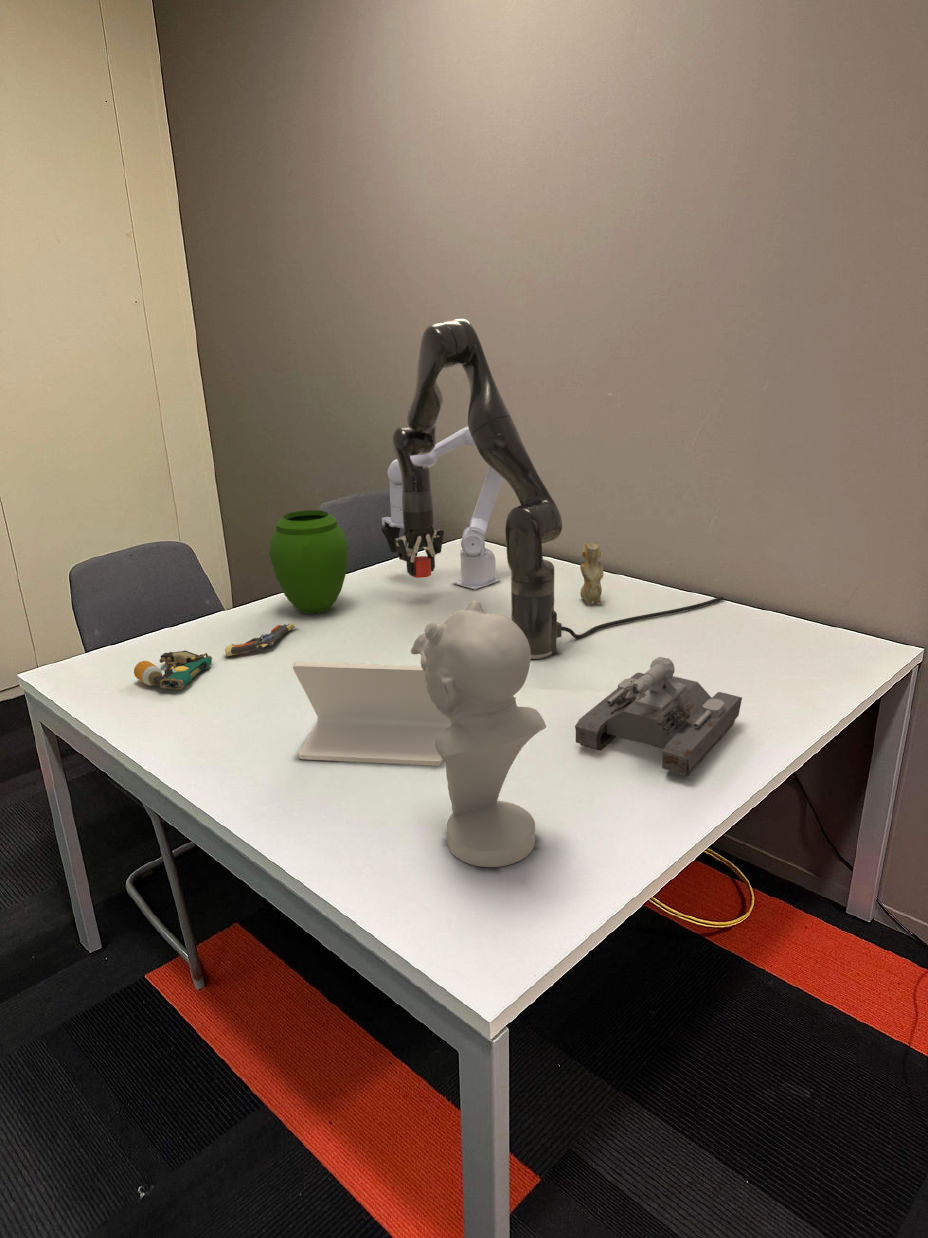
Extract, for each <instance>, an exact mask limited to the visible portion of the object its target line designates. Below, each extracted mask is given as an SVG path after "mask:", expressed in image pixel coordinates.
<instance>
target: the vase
mask: <svg viewBox="0 0 928 1238" xmlns="http://www.w3.org/2000/svg"><path fill="white" fill-rule="evenodd" d="M275 527H276V529H275V530H274V532H273V534H272V535H271V536H270V541H269V551H268V554H269V558H270V561H271V565H272V569H273V572H274V576H275V578H276V580H277V582H278V584H279V586H280V589H281V590H282V592H283V595H284V596H285V597H286V599H287V600H288V601H289V603H290V604H291V605H292V606H293V607H294V608H295V609H296V610H297V611H299V612H301V613H303V614H308V615H309V614H310V615H311V614H312V615H314V614H321V613H324V612H327V611H328V610H330V609H331V608H332V607H333V605H334V604H336V601H338V600H337V599H338V598H339V596H340V594H341V592H342V589H343V585H344V582H345V580H346V579H345V578H346V575H347V571H348V560H349V559H348V558H349V543H348V540H347V536H346V533H345V531H344V530H343V529H342V527H340V526H339V525H338V519H337V518H336V517H334V516H333V515H331V514H330V513H329V512H327V511H324V510H316V509H308V510H298V511H291V512H289V513H286V514H284V515H283V516H282V517H281V518H280V519H279V520H277V521H276V523H275Z"/></svg>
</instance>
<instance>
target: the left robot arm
mask: <svg viewBox="0 0 928 1238" xmlns="http://www.w3.org/2000/svg"><path fill="white" fill-rule="evenodd" d="M464 445H467V446H473V447H476V445H475V443H474V441H473V438H472V436H471V434H470V432H469V428H468V425H467V426H465V427H463V428H461V429H459V430H458V431H456V432H454V433H453V434H451V435H449V436H447V437H446V438H444V439H443V440H441V441H439V442H436V445H435V448H434V449H433V450H432V451H431V452H430V453H428V454H423V455H414V456H410V458H411V461H412V462H413V463H414V464H422V465H426V466H427V467H428V468H429V469H430V468H431V467H433V466H435V465H436V464H437V461H438V458H440V457H442V456H444V455H445V454H448V453H449V452H451V451H454V450H456V449H458V448H460V447H462V446H464ZM387 478H388V479H389V481H388V482H389V504H390V516H383V517H381V525H382V526H383V527H381V532H382V534H383V535H384V537H385V539H386V541H387V544H388V547H389V551H390V553H392V554H394V553H396V552H397V549H396V546H395V542H394V539H395V538H400V533H401V530H405V528H404V525H403V509H402V477H401V471H400V467H399V463H398V460H397V458H396V459H394V460H392V462H391V463H390V464H389V466H388V468H387ZM503 481H504V479H503V478H502V477H501V476H500V475H499V474H498V473H497V472H496V471H495V470H493V469H492V468H491V467H490V466H489V465H488V468H487V472H486V475H485V478H484V481H483V483H482V486H481V489H480V493H479V495H478V499H477V502H476V504H475V507H474V511H473V513H472V516H471V518H470V520H469V523H468V524H467V526H466V527H464V529H463V531H462V534H461V536H462V537H461V541H460V547H461V549H460V553H459V555H460V579H459V580H457V581H454V585H457V586H461V587H464V588H468V589H471V590H478V589H481V588H483V587H486V586H489V585H492V584H495V583H497V582H499V579H497V575H496V574H497V573H496V572H497V569H496V557H495V554H494V552H493V551H492V550H491V549H490V548H486V546H485V545H486V543H485V540H486V532H487V529H488V526H489V521H490V519H491V516H492V513H493V510H494V507H495V504H496V501H497V498H498V495H499V493H500V490H501V487H502V484H503ZM407 543H408V542H407V541H406V544H407ZM412 549H413V547H412ZM418 553H419V551H418V552H417V554H416V555H415V557H418Z"/></svg>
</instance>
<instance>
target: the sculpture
mask: <svg viewBox="0 0 928 1238" xmlns="http://www.w3.org/2000/svg"><path fill="white" fill-rule="evenodd" d="M582 545H583V551H582V552H581V557H582V558H583V559H584V560H585V562H584V563H581V564H580V566H579V569H580V573H581V575H582V577H583V582H584V583H583V585H582V587H581V588H580V592H579V594H580V598H581V599H582V600H583V601H585V603H586V605H593V603H594V605H598V604H601V601H602V600H601V599H602V594H603V588H602V584H601V580H602V579H603V578H604V564H603V563H601V562H599V559H600V558H601V557H602V551H601V550H600V549H601V546H600V545H599V544H598V543H597V542H592V543H587V542H584V543H583V544H582Z"/></svg>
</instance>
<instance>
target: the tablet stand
mask: <svg viewBox="0 0 928 1238" xmlns="http://www.w3.org/2000/svg"><path fill="white" fill-rule="evenodd" d="M292 665H293V666H292V670H293V671H294V673H295V675H296V677H297V679H298V681H299V683H300V685H301V687H302V689H303V692H304V694H305V695H306V697H307V699H308V700H309V703H310V704H311V706H312V708H313V711H314V712H315V714H316V716H317V721H316V724H315V725H314V727H313V728H312V731H311V732H310V734H309V735H308V736H307V738H306V739H305V741H304V742H303V745H301V748H300V749H299V750H298V759H300V760H311V761H312V760H314V761H333V762H334V761H335V762H353V763H354V762H355V763H377V764H396V765H398V764H399V765H417V766H440V765H442V763H443V759H442V758H441V756H440V755H439V753H438V752H437V750H436V747H435V740H436V737H437V736H438V735H439V734H440V733H441V732H442V731H443V730H445V729H446V728H448V727H450V726H451V720H450V719H449V718H448V717H447V716H446V715H443V714H442V713H441V712H440V711H439V710H438V709H437V708H436V706H435V704H434V703H433V702H432V701H431V698H430V695H429V693H428V691H427V683H426V681H425V671H424V670H423V669H422V667H421V665H412V664H410V665H409V664H408V665H407V664H377V663H375V664H374V663H346V662H344V663H343V662H317V661H316V662H315V661H313V662H312V661H295V662H293V664H292Z"/></svg>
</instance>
